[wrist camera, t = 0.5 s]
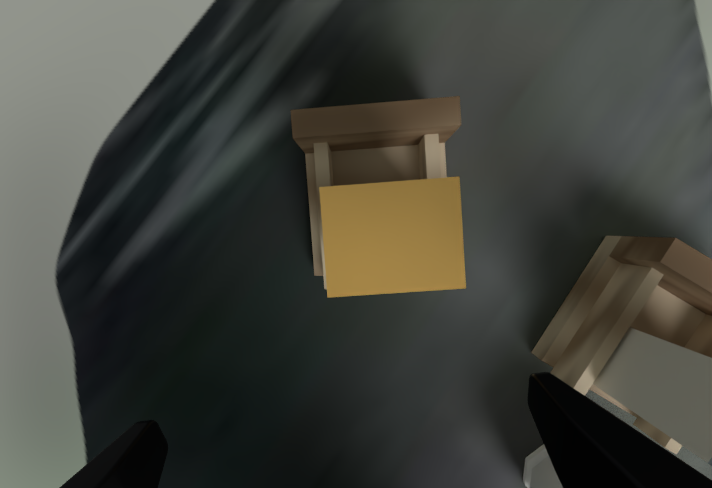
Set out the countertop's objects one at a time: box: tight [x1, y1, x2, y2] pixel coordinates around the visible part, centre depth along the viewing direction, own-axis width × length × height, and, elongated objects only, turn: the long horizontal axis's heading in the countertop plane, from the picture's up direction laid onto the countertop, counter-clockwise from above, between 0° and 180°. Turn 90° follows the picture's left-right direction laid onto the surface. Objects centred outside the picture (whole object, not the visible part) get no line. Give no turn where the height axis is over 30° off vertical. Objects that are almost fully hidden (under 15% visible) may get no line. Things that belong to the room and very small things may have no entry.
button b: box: [593, 327, 712, 466], centre depth 18 cm, size 4×5×10 cm
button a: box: [319, 177, 466, 297], centre depth 18 cm, size 4×5×10 cm
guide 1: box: [291, 96, 461, 289], centre depth 22 cm, size 10×9×6 cm
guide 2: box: [531, 236, 712, 454], centre depth 22 cm, size 10×9×6 cm
